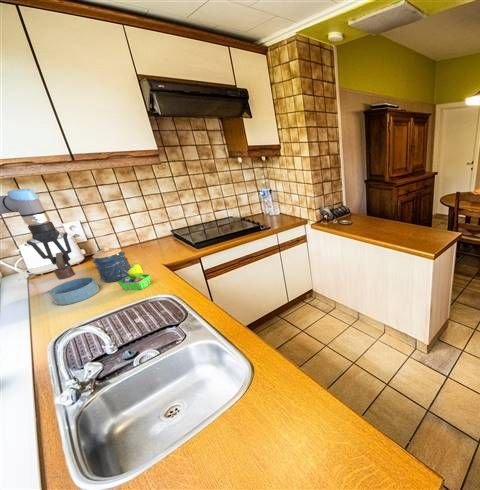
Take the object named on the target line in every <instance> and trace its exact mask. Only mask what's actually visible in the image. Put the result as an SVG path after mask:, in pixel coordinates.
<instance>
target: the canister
mask: <svg viewBox="0 0 480 490" xmlns="http://www.w3.org/2000/svg"><path fill="white" fill-rule="evenodd" d="M101 249H102V250H101V251H98V250H97V251H98V252H97V251H96V252H95V253H94V254H93V255H92V256H91V257H92V261H91V262H92V263H93V264H94V265H95V267H94V269H96V271H97V273H98V275H99V276H100V279H101V280H102V282H104V283H114V282H119V281H120V280H122V279H124V278H126V277H127V276H130V275H129V274H128V271H129V269H131V266H132V265H131V264H130V262H129V259H128V257H126V252H124V251H122V249H121V248H117V247H108V246H103V247H101Z"/></svg>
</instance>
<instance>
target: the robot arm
mask: <svg viewBox="0 0 480 490" xmlns="http://www.w3.org/2000/svg"><path fill="white" fill-rule="evenodd" d="M6 193H7V194H6V195H0V216H1V215H4V214H11V213H18V214H19V215H20V217H21V219H22V220H23V222H24V223H25V225H27V228H28V230H29V232H30V234H31V238H29V239H27V240H26V243H27V244H28V245H29V246H31V247H32V248H33V249H34V251H35V252H36V253H37V254H38V255H39V256H40V257H41V258H42V259H43V260H50V262H51V264H52V265H55V266H56V256H53V255H54V254H53V253H52V250H51V248H50V245H49V243H53V244H55V246H56V247H57V249H59V251H60V252H62V253H63V255H62V257H63V259H64V260H65V262H66V264H67V265H66V266H71V267H72V265H71V264H70V262H71V257H70V255H69V254H70V253H72V252H73V251H72V248H71V244H70V242H69V240H68V232H67V231H65V232H61V231H59V230H57V228H56V227H55V225H54V223H53V221H51V218H50V216H49V214H48V213H47V211H46V210H45V208H44V206H43V204H42V202H41V200H40V198H39V196H38V195H37V193H36V192H35V191H34V190H33V189H31V188H19V189H13V190H8V191H7V192H6ZM59 236H60V237H61V238H63V241H64V244H65V248H64V247H63V246H62V244H61V243H60V242H59V240H58V238H59ZM36 241H37V242H39V243H42V245H43V247H44V249H45V251H46V253H45V252H44V251H43V250H42V248H40V246H38V244H37V243H36ZM46 254H47V255H46Z"/></svg>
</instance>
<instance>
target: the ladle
mask: <svg viewBox="0 0 480 490" xmlns="http://www.w3.org/2000/svg"><path fill="white" fill-rule="evenodd" d="M62 255H63V253H62V252H61V251H60V252H56V253H55V257H56V264H55V266H56V269H54V270H53V273H54V275H55V276H56V278H57V280H60V281H61V280H67V279H70V278H72V277H74V276H76V273H75V271H74V269H73V267H72V265H71V266H67V264H66V262H65V260H64V259H63V257H62Z"/></svg>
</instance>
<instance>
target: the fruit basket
mask: <svg viewBox="0 0 480 490" xmlns="http://www.w3.org/2000/svg"><path fill="white" fill-rule="evenodd" d="M130 266H131V269H129V271H128V274H129V275H130V276H127V277H126V278H124V279H122V280H118V281H116V284H118V285H119V286H120V287H121V288H122V289H124V291H142V290H144V289H145V288H147V287H149V286H150V285H151V274H150V273H149V274H147V273H146V274H143V269H142V267H141V265H139V264H138V263H133V264H131V265H130Z"/></svg>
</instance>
